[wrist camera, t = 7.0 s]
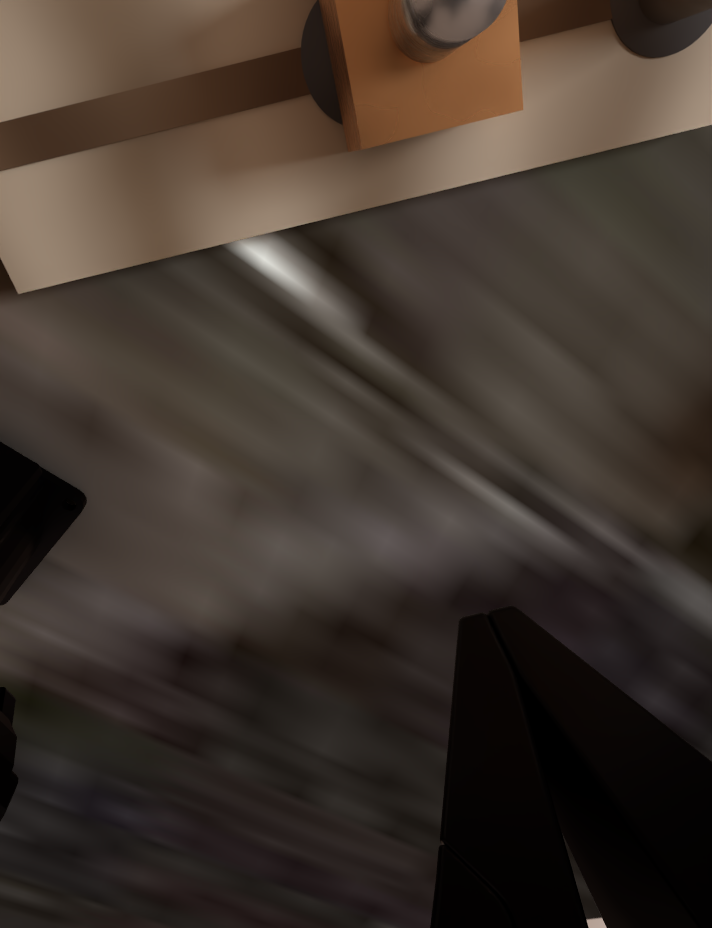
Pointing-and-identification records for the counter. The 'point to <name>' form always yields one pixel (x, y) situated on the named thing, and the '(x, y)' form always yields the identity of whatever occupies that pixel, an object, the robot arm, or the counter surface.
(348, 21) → the orange slider block
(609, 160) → the counter surface
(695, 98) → the bolt plate
